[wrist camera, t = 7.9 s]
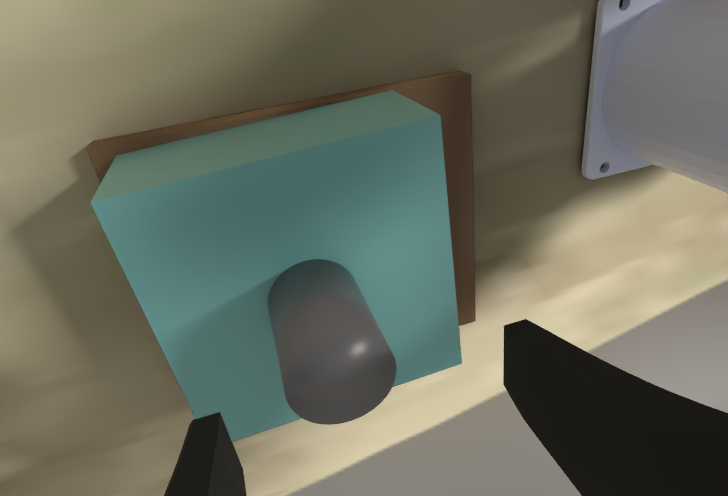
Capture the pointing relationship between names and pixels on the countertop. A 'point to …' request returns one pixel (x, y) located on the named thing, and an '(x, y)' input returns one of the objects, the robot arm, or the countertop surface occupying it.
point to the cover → (292, 259)
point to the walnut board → (433, 92)
